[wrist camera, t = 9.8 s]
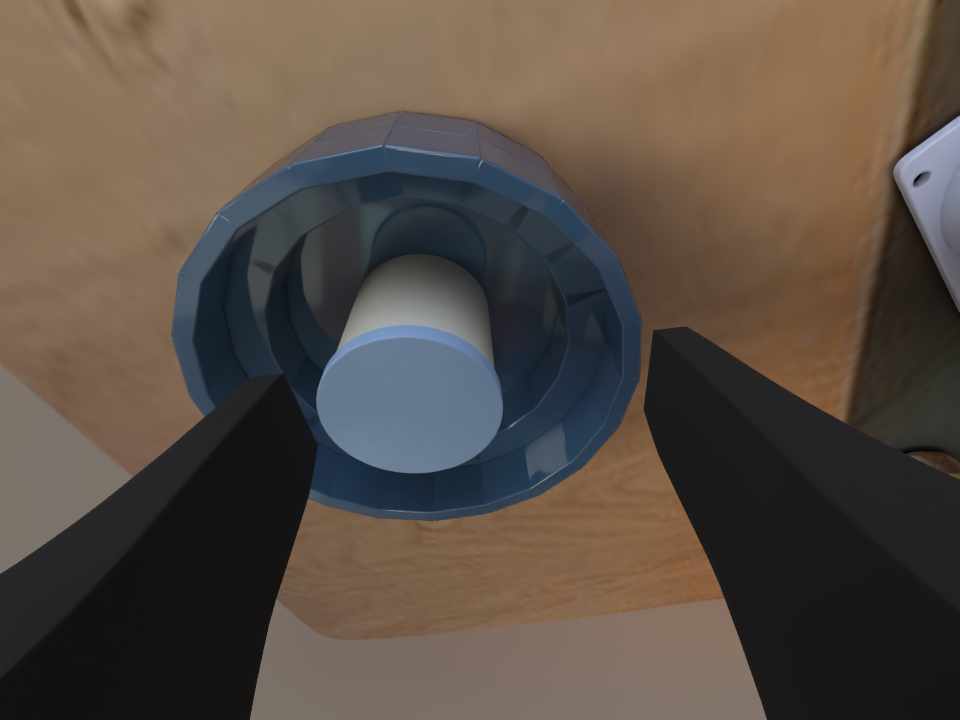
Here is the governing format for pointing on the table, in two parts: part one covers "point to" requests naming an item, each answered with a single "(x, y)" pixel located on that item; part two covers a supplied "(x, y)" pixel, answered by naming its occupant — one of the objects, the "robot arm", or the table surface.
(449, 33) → the table surface
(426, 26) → the table surface
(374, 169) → the bowl
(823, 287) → the table surface
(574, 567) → the table surface
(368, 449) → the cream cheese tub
